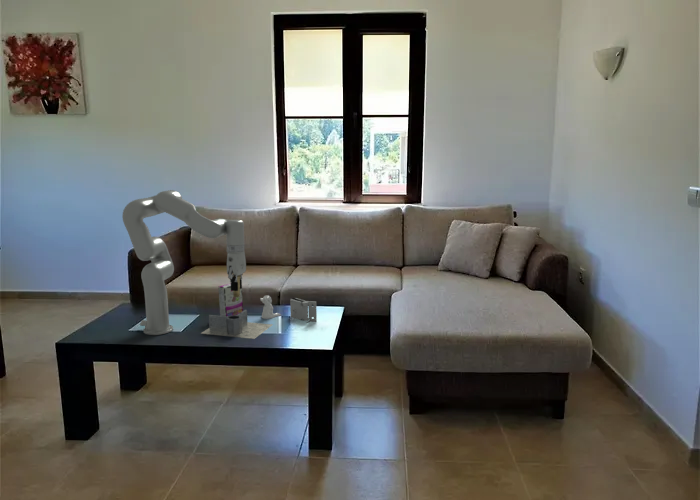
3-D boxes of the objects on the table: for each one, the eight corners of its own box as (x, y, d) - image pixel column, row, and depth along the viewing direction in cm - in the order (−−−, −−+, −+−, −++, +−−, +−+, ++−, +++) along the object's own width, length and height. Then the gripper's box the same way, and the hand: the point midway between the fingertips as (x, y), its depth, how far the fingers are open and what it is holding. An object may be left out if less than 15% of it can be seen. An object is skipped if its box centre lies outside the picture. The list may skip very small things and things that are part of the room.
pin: (232, 296, 237) (231, 274, 235) (235, 295, 240) (234, 273, 238) (238, 297, 236) (237, 275, 235) (241, 295, 239) (240, 273, 237)
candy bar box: (236, 313, 272) (235, 281, 269) (243, 315, 269) (242, 283, 266) (219, 318, 264) (217, 286, 261) (226, 320, 261) (224, 287, 258)
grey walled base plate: (200, 335, 239) (199, 318, 238) (222, 322, 258) (221, 305, 257) (254, 341, 232) (253, 323, 231) (273, 327, 251) (272, 309, 250)
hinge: (317, 321, 259) (317, 301, 257) (310, 324, 255) (310, 304, 253) (293, 317, 266) (293, 297, 264) (287, 320, 262) (286, 300, 260)
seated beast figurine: (281, 317, 266) (280, 293, 264) (274, 322, 258) (274, 298, 256) (263, 315, 269) (262, 292, 267) (256, 320, 261) (255, 296, 258)
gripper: (234, 252, 226) (235, 295, 229) (251, 245, 241) (252, 285, 245) (218, 251, 227) (219, 293, 231) (236, 244, 243) (236, 284, 246)
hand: (236, 289), depth 238 cm, fingers closed on pin, 3 cm apart
